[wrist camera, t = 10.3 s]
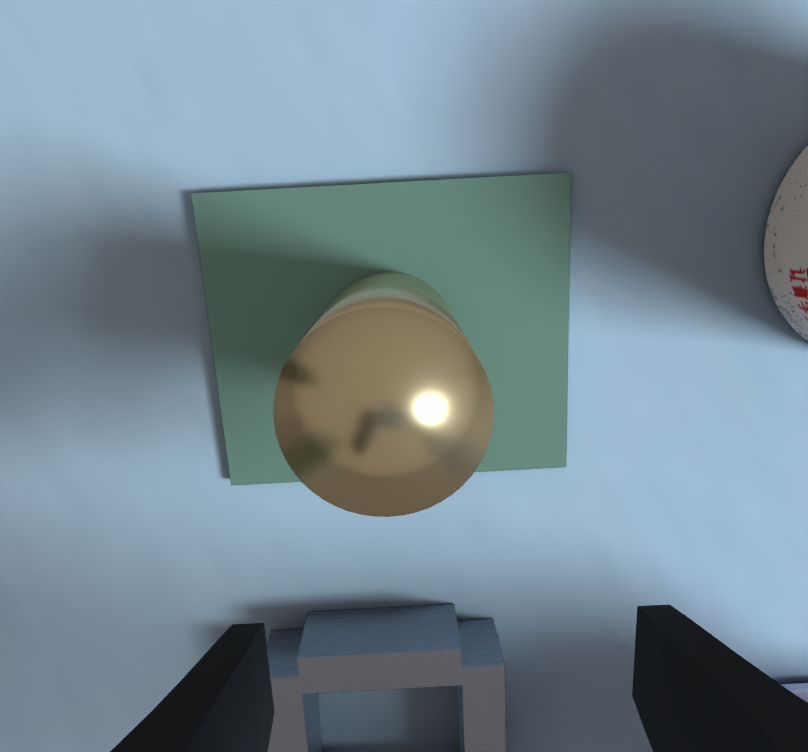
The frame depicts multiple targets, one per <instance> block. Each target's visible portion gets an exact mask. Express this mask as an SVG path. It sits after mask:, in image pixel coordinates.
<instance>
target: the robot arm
mask: <svg viewBox="0 0 808 752" xmlns="http://www.w3.org/2000/svg"><path fill="white" fill-rule="evenodd" d="M632 696H633V699H634V702H635V704H636V707H637V710H638V713H639V715H640V718H641V721H642V724H643V727H644V729H645V732H646V734H647V737H648V739H649V742H650V745H651V747H652V750H653V752H808V683H797V684H779V683H778V682H776V681H775V680H773V679H772V678H770V677H769V676H768V675H766V674H765V673H763V672H762V671H760V670H759V669H758V668H756V667H755V666H753V665H752V664H751V663H749V662H748V661H746V660H745V659H744V658H742V657H741V656H740V655H738V654H737V653H735V652H734V651H733V650H731V649H730V648H729V647H727V646H726V645H724V644H723V643H722V642H720V641H719V640H718V639H716V638H715V637H714V636H712V635H711V634H710V633H708V632H707V631H706V630H704V629H703V628H701V627H700V626H699V625H697V624H696V623H695V622H693V621H692V620H691V619H689V618H688V617H686V616H685V615H684V614H682V613H681V612H679V611H678V610H676V609H675V608H674V607H672V606H671V605H653V606H638V608H637V624H636V641H635V658H634V675H633V692H632ZM274 712H275V711H274V703H273V695H272V687H271V678H270V670H269V662H268V654H267V645H266V637H265V629H264V623H255V624H233V625H232V626H231V627H230V628H229V629H228V630H227V631H226V632H225V633H224V634H223V635H222V636H221V637H220V638H219V639H218V640H217V642H216V643H215V644H214V645H213V646H212V647H211V648H210V649H209V650H208V652H207V653H206V654H205V655H204V656H203V657H202V658H201V659H200V660H199V662H198V663H197V664H196V665H195V666H194V667H193V668H192V669H191V670H190V671H189V672H188V674H187V675H186V676H185V677H184V678H183V679H182V680H181V681H180V682H179V683H178V684H177V685H176V686H175V687H174V689H173V690H172V691H171V692H170V693H169V694H168V695H167V696H166V697H165V698H164V699H163V700H162V701H161V702H160V703H159V704H158V705H157V706H156V707H155V709H154V710H153V711H152V712H151V713H150V714H149V715H148V716H147V717H146V718H144V719H143V720H142V721H141V722H140V723H139V724H138V725H137V726H136V727H135V728H134V729H133V730H132V731H131V732H130V733H129V734H128V735H127V736H126V737H125V738H124V739H123V740H122V741H121V742H120V743H119V744H118V745H117V746H116V747H115V748H114V749H112V750H111V751H110V752H268V747H269V742H270V736H271V730H272V724H273V718H274Z"/></svg>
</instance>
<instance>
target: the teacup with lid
mask: <svg viewBox="0 0 808 752" xmlns="http://www.w3.org/2000/svg"><path fill="white" fill-rule="evenodd" d="M764 263H765V272H766V277H767V281H768V285H769V288H770V291H771V294H772V296H773V299H774V301H775V303H776V305H777V307H778V309H779V310H780V312H781V314H782V315H783V317H784V318H785V319H786V320H787V322H788V323H789V324H790V326H791V327H792V328H793V329H794V330H795V331H796V332H797V333H798V334H799V335H801V336H802V337H803V338H804V339H806V340H807V341H808V145H807V146H806V148H805V149H804V150H803V151H802V152H801V154H800V155H799V156H798V157H797V159H796V160H795V162H794V163H793V164H792V166H791V167H790V169H789V170H788V172H787V174H786V176H785V177H784V179H783V181H782V183H781V185H780V187H779V189H778V191H777V193H776V196H775V198H774V201H773V204H772V206H771V210H770V213H769V217H768V220H767V226H766V231H765V240H764Z"/></svg>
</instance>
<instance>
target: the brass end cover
mask: <svg viewBox="0 0 808 752" xmlns="http://www.w3.org/2000/svg"><path fill="white" fill-rule="evenodd" d="M493 420H494V405H493V396H492V391H491V386H490V383H489V380H488V378H487V375H486V372H485V370H484V368H483V366H482V364H481V362H480V361H479V359H478V357H477V355H476V354H475V352H474V350H473V348H472V347H471V345H470V343H469V341H468V340H467V338H466V336H465V334H464V333H463V331H462V329H461V328H460V326H459V324H458V322H457V321H456V319H455V317H454V315H453V314H452V312H451V310H450V308H449V307H448V305H447V303H446V302H445V300H444V299H443V298H442V296H441V295H440V294H439V293H438V292H437V291H436V290H435V289H434V288H433V287H431V286H430V285H429V284H427V283H426V282H424V281H423V280H421V279H419V278H416V277H414V276H411V275H408V274H405V273H399V272H379V273H374V274H370V275H367V276H364V277H362V278H360V279H358V280H356V281H354V282H352V283H351V284H350V285H348V286H347V287H346V288H345V289H344V290H342V291H341V292H340V293H339V295H338V296H337V297H336V298H335V300H334V301H333V302H332V303H331V305H330V306H329V307H328V308H327V310H326V311H325V312H324V313H323V315H322V316H321V317H320V318H319V319H318V321H317V322H316V323H315V324H314V326H313V327H312V328H311V329H310V331H309V332H308V333H307V334H306V336H305V337H304V338H303V339H302V341H301V342H300V343H299V344H298V346H297V347H296V348H295V350H294V351H293V352H292V353H291V355H290V356H289V358H288V360H287V362H286V363H285V365H284V367H283V369H282V371H281V374H280V376H279V379H278V382H277V386H276V390H275V394H274V403H273V421H274V427H275V433H276V437H277V440H278V443H279V447H280V449H281V451H282V453H283V455H284V458H285V460H286V461H287V463H288V465H289V466H290V468H291V469H292V471H293V472H294V473H295V475H296V476H297V477H298V478H299V479H300V480H301V482H302V483H303V484H304V485H306V486H307V487H308V488H309V489H310V490H311V491H312V492H314V493H315V494H316V495H318V496H319V497H321V498H322V499H323V500H325V501H327V502H329V503H331V504H333V505H334V506H337V507H339V508H342V509H344V510H347V511H350V512H354V513H358V514H362V515H369V516H382V517H390V516H400V515H406V514H410V513H415V512H418V511H421V510H424V509H427V508H429V507H431V506H433V505H435V504H437V503H439V502H441V501H443V500H444V499H446V498H447V497H449V496H450V495H452V494H453V493H454V492H456V491H457V490H458V489H459V488H460V487H461V486H463V485H464V483H465V482H466V481H467V480H468V479H469V478H470V477H471V476H472V474H473V473H474V472H475V470H476V469H477V467H478V466H479V464H480V462H481V460H482V459H483V457H484V455H485V453H486V450H487V447H488V444H489V442H490V438H491V434H492V429H493Z"/></svg>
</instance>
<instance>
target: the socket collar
mask: <svg viewBox="0 0 808 752" xmlns="http://www.w3.org/2000/svg"><path fill="white" fill-rule="evenodd" d="M267 654H268V662H269V670H270V678H271V687H272V695H273V703H274V711H275V712H274V718H273V724H272V730H271V736H270V742H269V747H268V752H323V748H322V739H321V729H320V720H319V711H318V702H317V693H329V692H348V691H366V690H384V689H403V688H421V687H440V686H457V691H458V718H459V745H460V752H506V731H505V664H504V660H503V656H502V652H501V648H500V644H499V640H498V636H497V632H496V628H495V624H494V620H493V619H476V620H458V621H457V618H456V612H455V605H454V604H445V605H427V606H408V607H390V608H372V609H353V610H335V611H317V612H308V613H307V617H306V622H305V626H304V629H293V630H275V631H271V633H270V636H269V640H268V643H267Z"/></svg>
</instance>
